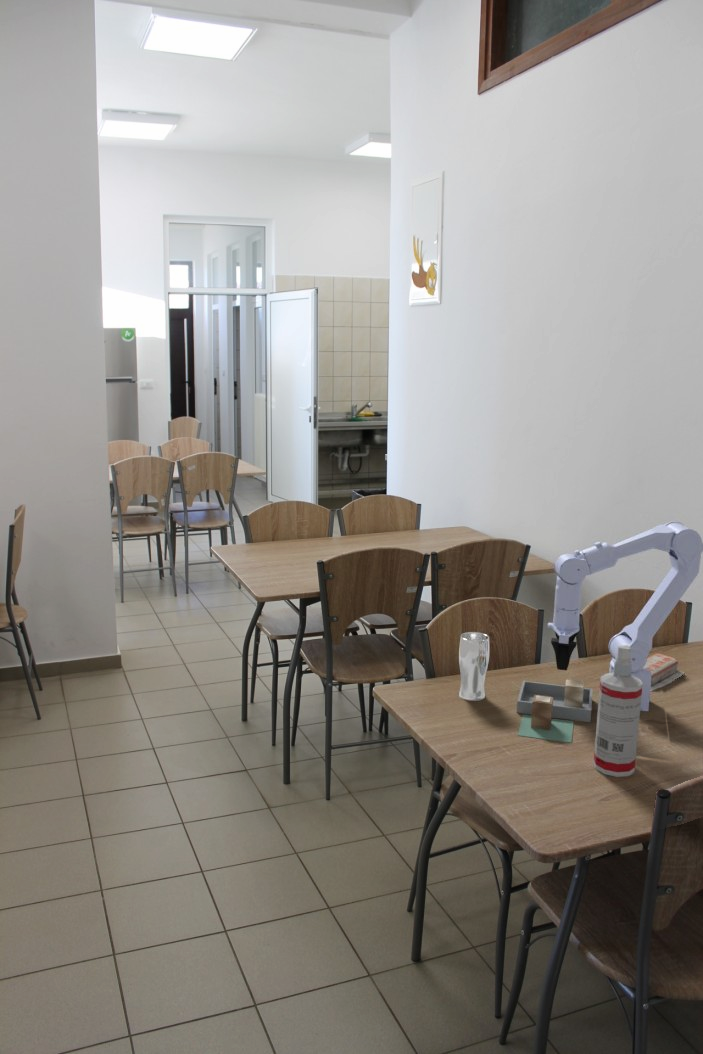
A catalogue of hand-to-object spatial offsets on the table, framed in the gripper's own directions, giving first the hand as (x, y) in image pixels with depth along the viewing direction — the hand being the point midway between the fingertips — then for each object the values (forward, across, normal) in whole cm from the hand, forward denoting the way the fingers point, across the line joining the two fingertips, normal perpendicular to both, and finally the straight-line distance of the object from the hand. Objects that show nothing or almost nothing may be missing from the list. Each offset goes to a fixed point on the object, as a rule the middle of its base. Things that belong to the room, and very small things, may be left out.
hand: (563, 663), depth 204 cm
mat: (+9, +17, -2) cm, 20 cm away
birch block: (+9, +4, +3) cm, 10 cm away
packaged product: (+10, -23, +21) cm, 32 cm away
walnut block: (+9, +16, -3) cm, 19 cm away
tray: (+9, +4, -1) cm, 10 cm away
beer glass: (+10, +4, -20) cm, 23 cm away
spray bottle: (+10, +30, +12) cm, 34 cm away
